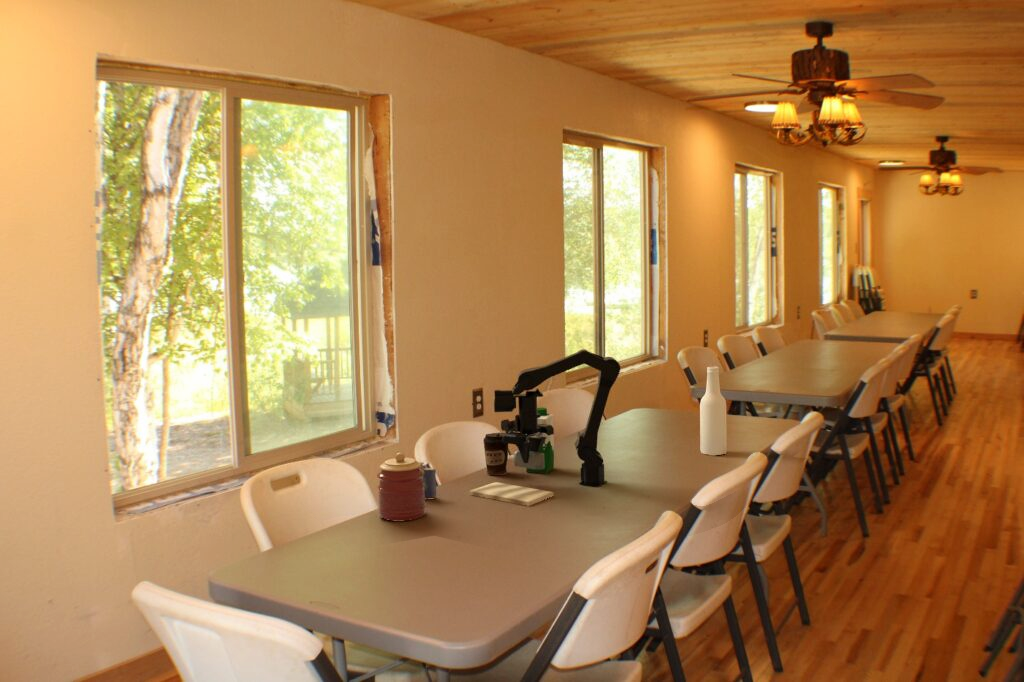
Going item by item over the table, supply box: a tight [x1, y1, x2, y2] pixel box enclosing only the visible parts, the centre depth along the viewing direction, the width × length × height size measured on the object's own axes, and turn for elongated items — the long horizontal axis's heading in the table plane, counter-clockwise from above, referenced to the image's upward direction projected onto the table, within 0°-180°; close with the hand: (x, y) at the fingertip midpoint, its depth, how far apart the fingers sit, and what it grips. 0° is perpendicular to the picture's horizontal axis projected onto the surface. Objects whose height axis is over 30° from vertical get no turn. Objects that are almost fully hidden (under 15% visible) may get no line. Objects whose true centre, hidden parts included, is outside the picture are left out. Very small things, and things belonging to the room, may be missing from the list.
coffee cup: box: [483, 432, 509, 476], centre depth 302 cm, size 9×8×13 cm
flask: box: [420, 461, 437, 498], centre depth 276 cm, size 9×3×11 cm, turn 68°
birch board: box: [469, 481, 554, 507], centre depth 276 cm, size 22×12×1 cm, turn 52°
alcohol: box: [699, 365, 728, 455], centre depth 320 cm, size 9×9×30 cm
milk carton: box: [525, 407, 555, 474], centre depth 304 cm, size 9×9×20 cm
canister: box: [376, 452, 427, 521], centre depth 258 cm, size 13×13×18 cm
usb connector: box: [508, 449, 545, 470], centre depth 286 cm, size 13×4×4 cm, turn 52°
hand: (529, 461), depth 286 cm, fingers closed on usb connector, 4 cm apart
